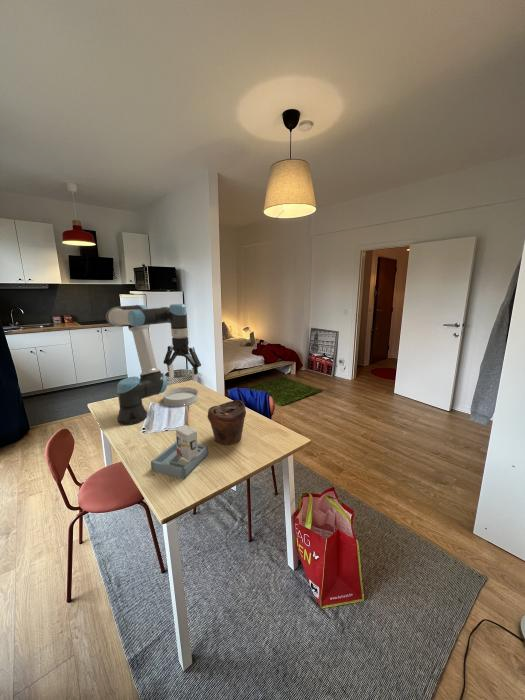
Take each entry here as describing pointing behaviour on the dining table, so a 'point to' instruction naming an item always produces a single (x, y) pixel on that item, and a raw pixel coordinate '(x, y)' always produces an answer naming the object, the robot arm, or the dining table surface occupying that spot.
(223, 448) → the dining table surface
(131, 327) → the robot arm
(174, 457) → the walled box
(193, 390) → the dish
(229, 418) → the brown pot
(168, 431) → the dining table surface
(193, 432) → the ink box
